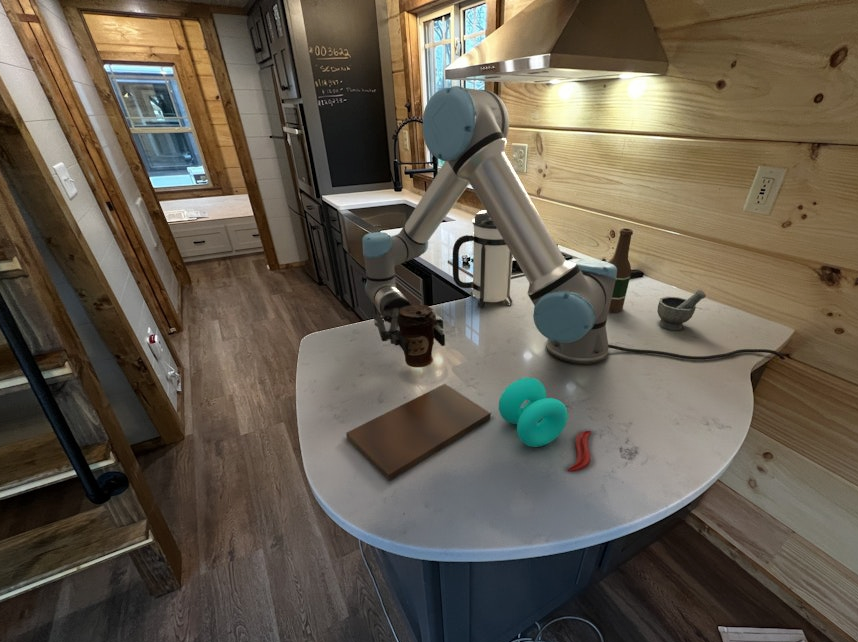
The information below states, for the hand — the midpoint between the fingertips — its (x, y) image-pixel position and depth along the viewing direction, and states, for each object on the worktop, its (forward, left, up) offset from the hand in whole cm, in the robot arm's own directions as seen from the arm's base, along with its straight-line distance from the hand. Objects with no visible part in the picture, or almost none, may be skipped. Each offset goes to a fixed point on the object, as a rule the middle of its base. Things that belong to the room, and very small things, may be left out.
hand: (425, 344), depth 87 cm
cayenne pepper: (-36, +12, -10) cm, 39 cm away
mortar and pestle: (-56, -50, -10) cm, 76 cm away
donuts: (-26, +10, -10) cm, 29 cm away
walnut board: (-6, +16, -9) cm, 19 cm away
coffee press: (0, -49, -10) cm, 50 cm away
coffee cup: (+3, -3, -7) cm, 9 cm away
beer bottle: (-38, -57, -10) cm, 69 cm away
